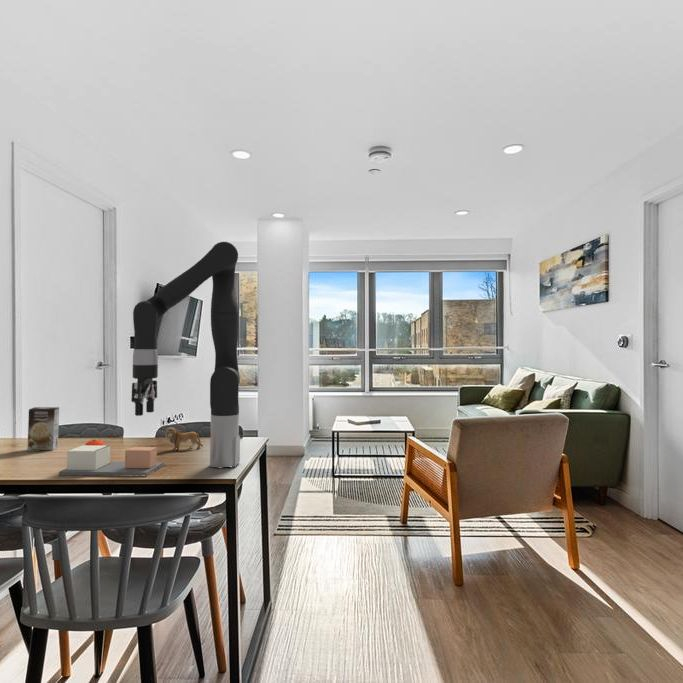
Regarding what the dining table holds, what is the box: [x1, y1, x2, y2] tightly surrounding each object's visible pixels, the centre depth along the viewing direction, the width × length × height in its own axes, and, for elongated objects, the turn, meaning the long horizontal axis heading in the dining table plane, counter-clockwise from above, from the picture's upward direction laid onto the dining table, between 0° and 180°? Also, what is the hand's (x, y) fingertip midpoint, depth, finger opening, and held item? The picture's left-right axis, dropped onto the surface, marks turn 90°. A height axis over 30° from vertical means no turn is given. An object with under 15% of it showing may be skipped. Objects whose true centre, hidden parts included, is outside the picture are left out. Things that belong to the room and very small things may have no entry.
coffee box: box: [26, 406, 60, 452], centre depth 185 cm, size 9×6×16 cm
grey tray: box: [58, 444, 165, 477], centre depth 153 cm, size 27×14×7 cm, turn 90°
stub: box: [124, 446, 158, 468], centre depth 153 cm, size 8×5×6 cm, turn 90°
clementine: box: [84, 438, 106, 446], centre depth 170 cm, size 8×7×7 cm
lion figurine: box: [165, 427, 204, 451], centre depth 188 cm, size 15×5×9 cm, turn 123°
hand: (144, 413), depth 154 cm, fingers open, 8 cm apart
